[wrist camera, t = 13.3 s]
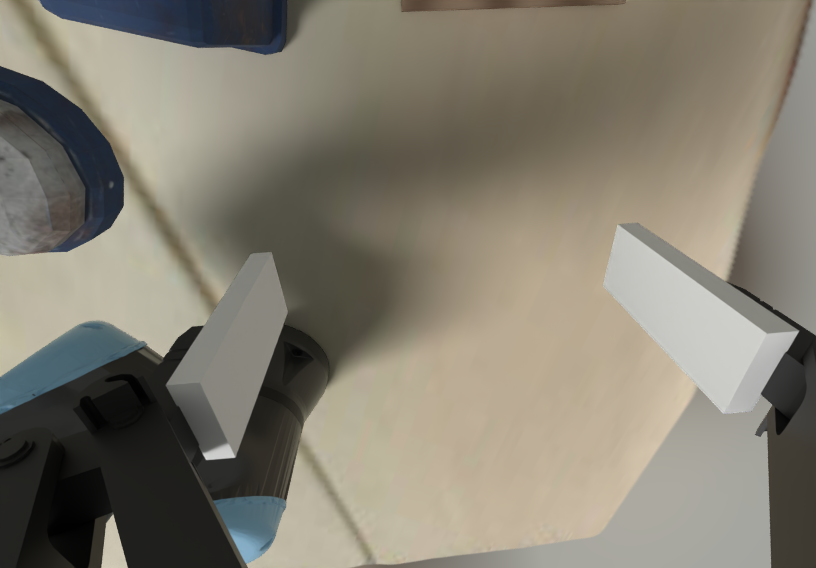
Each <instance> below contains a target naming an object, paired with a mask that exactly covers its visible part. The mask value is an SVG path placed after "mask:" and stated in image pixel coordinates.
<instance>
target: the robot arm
mask: <svg viewBox="0 0 816 568" xmlns="http://www.w3.org/2000/svg"><path fill="white" fill-rule="evenodd" d="M603 287H604V288H605V289H606V290H607V291H608V292H609V293H610V294H611V295H612V296H613V297H614V298H615V299H616V300H617V301H618V302H619V303H620V305H621V306H622V307H623V308H624V309H625V310H626V311H627V312H628V313H629V314H630V315H631V316H632V317H633V318H634V319H635V320H636V321H637V323H638V324H639V325H640V326H641V327H642V328H643V329H644V330H645V331H646V332H647V333H648V334H649V335H650V336H651V337H652V338H653V340H654V341H655V342H656V343H657V344H658V345H659V346H660V347H661V348H662V349H663V350H664V351H665V352H666V353H667V354H668V355H669V356H670V358H671V359H672V360H673V361H674V362H675V363H676V364H677V365H678V366H679V367H680V368H681V369H682V370H683V371H684V372H685V373H686V374H687V376H688V377H689V378H690V379H691V380H692V381H693V382H694V383H695V384H696V385H697V386H698V387H699V388H700V389H701V390H702V391H703V392H704V394H705V395H706V396H707V397H708V398H709V399H710V400H711V401H712V402H713V403H714V404H715V405H716V406H717V407H718V408H719V409H720V411H721V412H722V413H723V414H728V413H740V412H750V411H752V410H753V408H754V406H755V405H756V402H757V401H758V400H759V398H760V396H761V395H762V396H763V397H765V398H766V399H767V400H768V401H769V402H770V403H771V404H772V407H771V408H770V410H769V412H768V413H767V415H766V417H765V418H764V420H763V421H762V423H761V424H760V426H759V428H758V429H757V431H756V434H755V435H757V436H761V435H762V433H763V432H764V431H767V434H768V469H769V501H770V534H771V535H770V536H771V568H816V336H815V335H814V334H813V333H811V332H810V331H808V330H806V329H805V328H803V327H802V326H800V325H799V324H797V323H796V322H794V321H793V320H791V319H790V318H788V317H787V316H785V315H784V314H782V313H780V312H779V311H777V310H773V308H772V307H771V306H770V305H768V304H767V303H765V302H764V301H760V299H759V298H757V297H756V296H754V295H753V294H751V293H750V292H748V291H747V290H745V289H743V288H741V287H738V286H736V285H733V284H731V283H728V282H726V281H724V280H722V279H721V278H719V277H718V276H716V275H715V274H713V273H712V272H710V271H709V270H707V269H706V268H704V267H703V266H701V265H700V264H698V263H697V262H695V261H694V260H692V259H691V258H689V257H688V256H686V255H685V254H683V253H682V252H680V251H679V250H677V249H676V248H674V247H673V246H672V245H670V244H669V243H667V242H666V241H664V240H663V239H661V238H660V237H658V236H657V235H655V234H654V233H652V232H651V231H649V230H648V229H646V228H645V227H643V226H642V225H640V224H639V223H628V224H618V225H617V229H616V233H615V238H614V242H613V246H612V250H611V254H610V259H609V263H608V267H607V271H606V275H605V279H604V284H603ZM287 313H288V310H287V307H286V303H285V299H284V296H283V292H282V288H281V285H280V281H279V277H278V274H277V270H276V266H275V263H274V259H273V255H272V252H265V253H252V254H250V256H249V257H248V259H247V261H246V262H245V264H244V265H243V267H242V268H241V270H240V271H239V273H238V274H237V276H236V278H235V279H234V281H233V282H232V284H231V285H230V287H229V288H228V290H227V291H226V293H225V294H224V296H223V298H222V299H221V301H220V302H219V304H218V305H217V307H216V308H215V310H214V311H213V313H212V315H211V316H210V318H209V319H208V321H207V322H206V324H205V325H204V326H194V327H191V328H190V329H189V330H187V331H186V332H185V333H184V334H182V335H181V336H180V337H178V339H177V340H176V341H175V343H174V344H173V346H172V347H171V348H170V350H169V352H168V353H167V354H166V355H165V357H164V358H163V357H162V356H160V355H159V354H158V353H156V352H155V351H153V350H152V349H151V348H149V347H148V346H146V345H147V343H146V342H144V341H138V340H137V339H135V338H133V337H132V336H130V335H128V334H127V333H125V332H123V331H122V330H120V329H118V328H117V327H115V326H114V325H112V324H110V323H107V322H103V321H89V322H85V323H82V324H79V325H77V326H76V327H74V328H72V329H71V330H69V331H68V332H66V333H64V334H63V335H61V336H60V337H58V338H57V339H55V340H54V341H52V342H51V343H49V344H48V345H46V346H45V347H43V348H42V349H40V350H39V351H37V352H36V353H35V354H33V355H32V356H30V357H29V358H27V359H26V360H24V361H23V362H21V363H20V364H18V365H17V366H15V367H14V368H13V369H11V370H10V371H8V372H7V373H5V374H4V375H2V376H1V377H0V568H101V564H102V555H103V546H104V537H105V528H106V523H107V521H108V520H109V519H110V517H111V516H112V515H113V514H114V518H115V522H116V525H117V529H118V533H119V536H120V540H121V544H122V547H123V551H124V555H125V558H126V562H127V566H128V568H248V567H247V565H246V564H247V563H249V562H251V561H253V560H255V559H257V558H259V557H260V556H261V555H262V554H264V553H265V552H266V551H267V550H268V549H269V547H270V546H271V544H272V543H273V541H274V539H275V536H276V532H277V529H278V526H279V523H280V520H281V517H282V513H283V512H284V510H285V508H286V499H287V495H288V490H289V486H290V482H291V477H292V473H293V468H294V464H295V459H296V455H297V451H298V446H299V442H300V437H301V433H302V429H303V425H304V422H305V421H306V419H307V418H308V416H309V415H310V413H311V412H312V410H313V409H314V407H315V406H316V404H317V403H318V401H319V400H320V398H321V397H322V395H323V394H324V391H325V389H326V385H327V381H328V376H329V364H328V360H327V357H326V355H325V353H324V352H323V350H322V349H321V348H320V346H319V345H318V344H317V343H316V342H315V341H314V340H312V339H311V338H310V337H309V336H307V335H305V334H304V333H302V332H300V331H298V330H296V329H294V328H291V327H288V326H284V325H283V324H284V322H285V319H286V316H287Z"/></svg>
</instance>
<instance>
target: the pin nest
mask: <svg viewBox="0 0 816 568" xmlns="http://www.w3.org/2000/svg"><path fill="white" fill-rule="evenodd" d="M625 1H626V0H401V4H402V12H410V11H440V10H469V9H499V8H529V7H558V6H588V5H618V4H625Z"/></svg>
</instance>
